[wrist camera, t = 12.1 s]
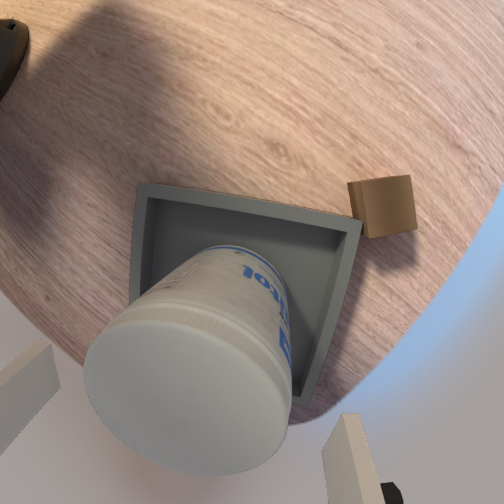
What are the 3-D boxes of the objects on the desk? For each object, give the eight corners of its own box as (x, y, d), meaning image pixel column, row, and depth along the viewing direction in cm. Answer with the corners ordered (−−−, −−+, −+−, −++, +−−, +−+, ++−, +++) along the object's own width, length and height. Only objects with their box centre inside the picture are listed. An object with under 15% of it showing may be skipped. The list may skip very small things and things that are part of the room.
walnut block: (354, 230, 23) (369, 238, 19) (346, 182, 22) (360, 181, 19) (396, 222, 23) (417, 229, 19) (389, 176, 22) (410, 174, 18)
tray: (142, 352, 27) (130, 368, 24) (153, 182, 24) (137, 182, 21) (305, 386, 27) (308, 405, 24) (352, 217, 23) (363, 221, 20)
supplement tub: (309, 303, 24) (342, 434, 10) (228, 363, 26) (192, 494, 12) (231, 216, 23) (162, 262, 9) (155, 288, 25) (52, 382, 11)
